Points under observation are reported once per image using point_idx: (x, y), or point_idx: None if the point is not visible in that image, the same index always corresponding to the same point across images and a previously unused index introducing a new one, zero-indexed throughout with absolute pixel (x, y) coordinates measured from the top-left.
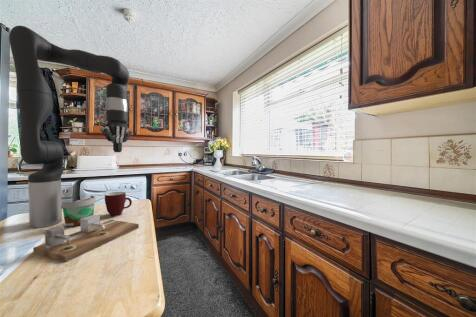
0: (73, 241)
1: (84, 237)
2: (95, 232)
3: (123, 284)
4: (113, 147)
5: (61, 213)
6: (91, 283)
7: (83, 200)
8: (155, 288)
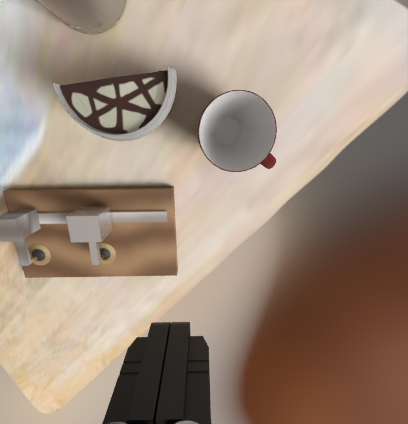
0: (56, 233)
1: None
2: None
3: (49, 373)
4: (120, 375)
5: (110, 7)
6: (30, 344)
7: (124, 98)
8: (63, 402)
